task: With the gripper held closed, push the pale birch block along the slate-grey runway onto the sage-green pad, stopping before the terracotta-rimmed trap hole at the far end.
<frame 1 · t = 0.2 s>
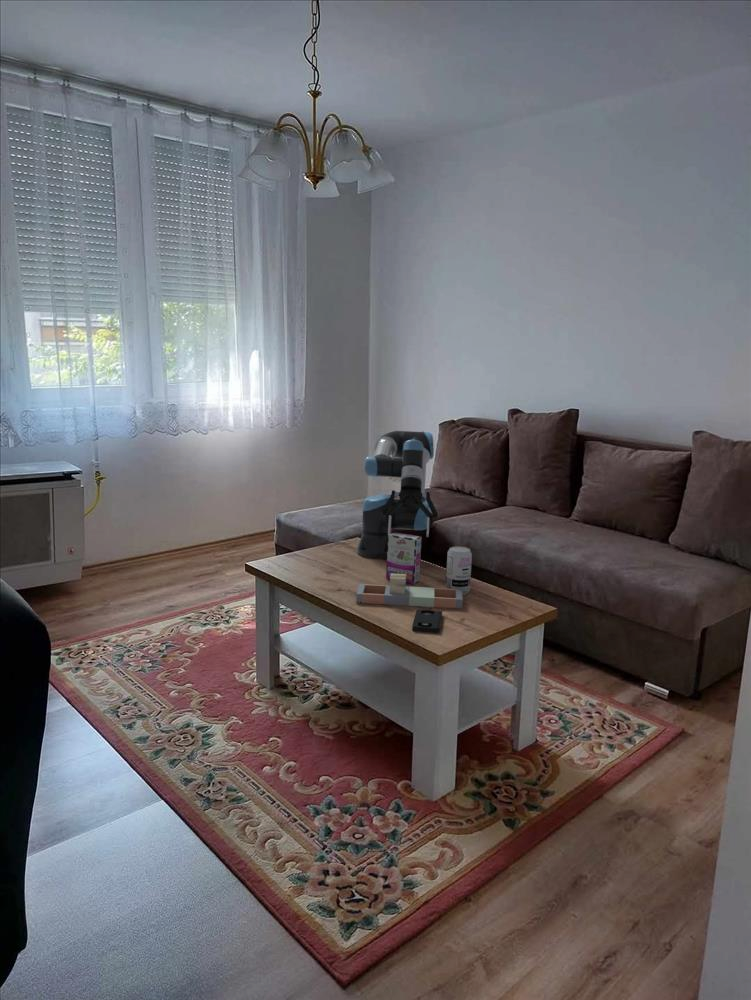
hand: (408, 535, 254), 16 cm above the table, tool tilted 35°, fingers open, 13 cm apart
birch block: (397, 590, 235), point 3 cm above the table, touching trap runway
trap runway: (409, 600, 235), on the table
candy bar box: (402, 580, 255), on the table
supplement can: (457, 592, 245), on the table
vhs tape: (427, 625, 216), on the table
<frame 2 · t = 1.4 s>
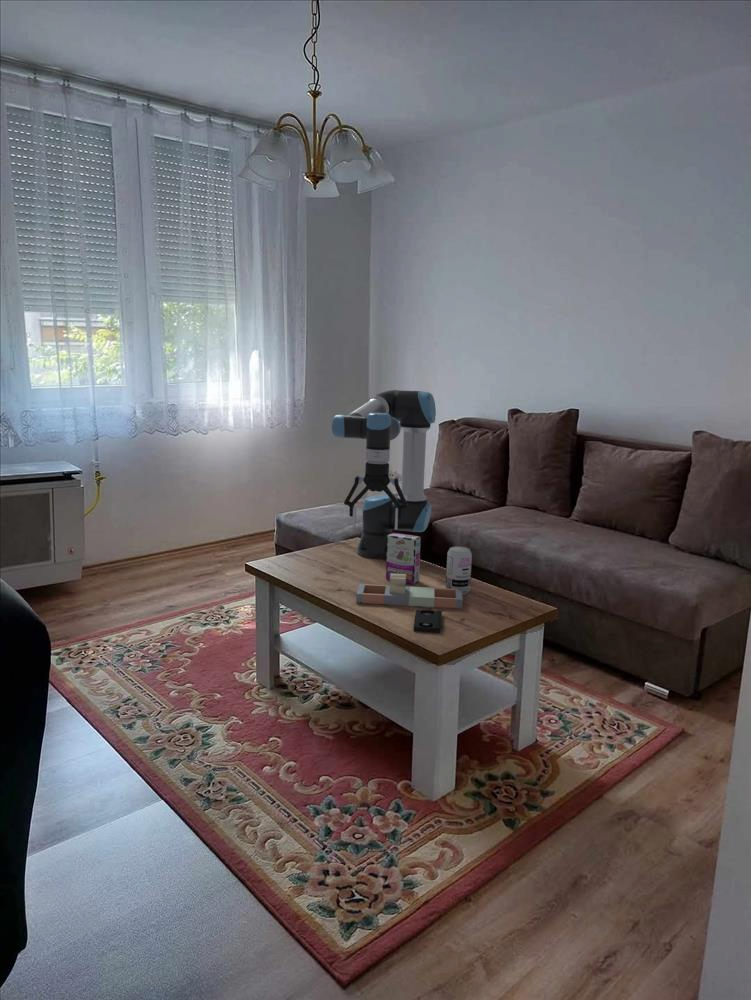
hand: (375, 527, 231), 24 cm above the table, tool pointing down, fingers open, 13 cm apart
nothing on the table moved.
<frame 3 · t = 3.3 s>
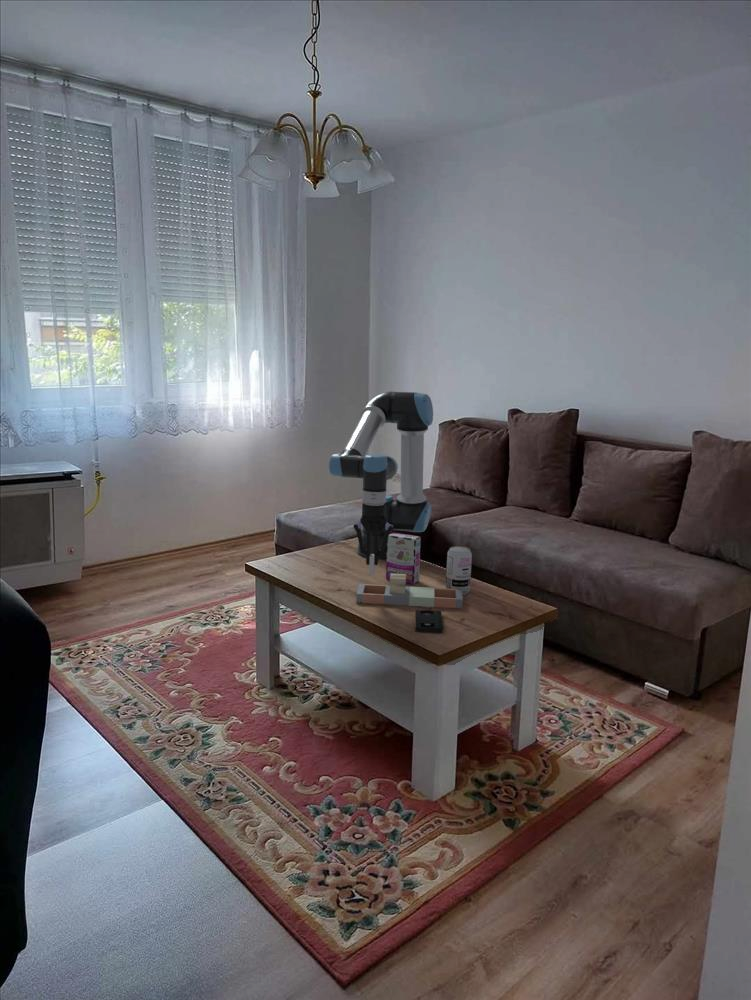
hand: (371, 574, 234), 8 cm above the table, tool pointing down, fingers closed
nothing on the table moved.
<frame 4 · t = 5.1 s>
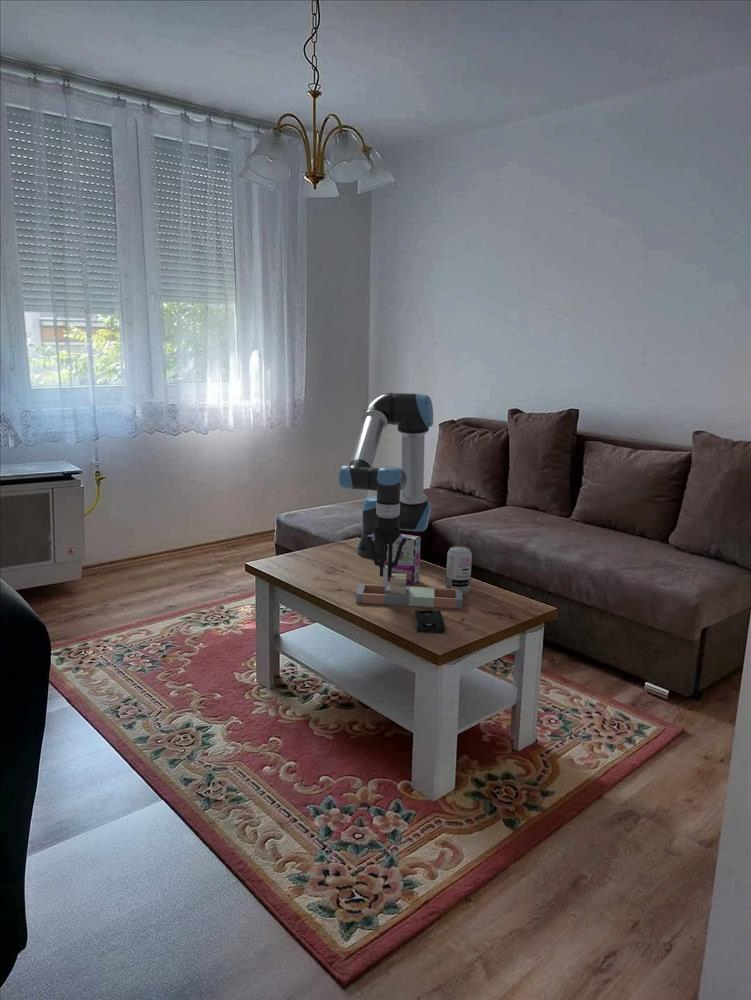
hand: (385, 585, 234), 4 cm above the table, tool pointing down, fingers closed
birch block: (397, 590, 235), point 3 cm above the table, touching gripper
everything else where it was.
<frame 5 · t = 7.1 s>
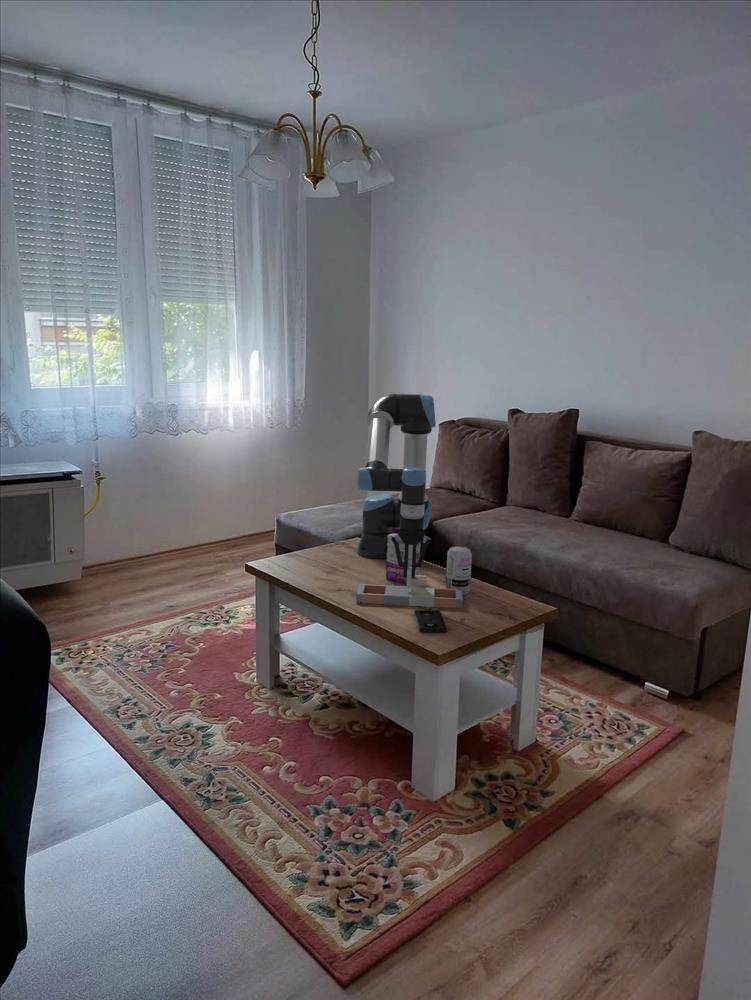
hand: (408, 586, 234), 5 cm above the table, tool pointing down, fingers closed
birch block: (418, 592, 234), point 3 cm above the table, touching gripper, trap runway
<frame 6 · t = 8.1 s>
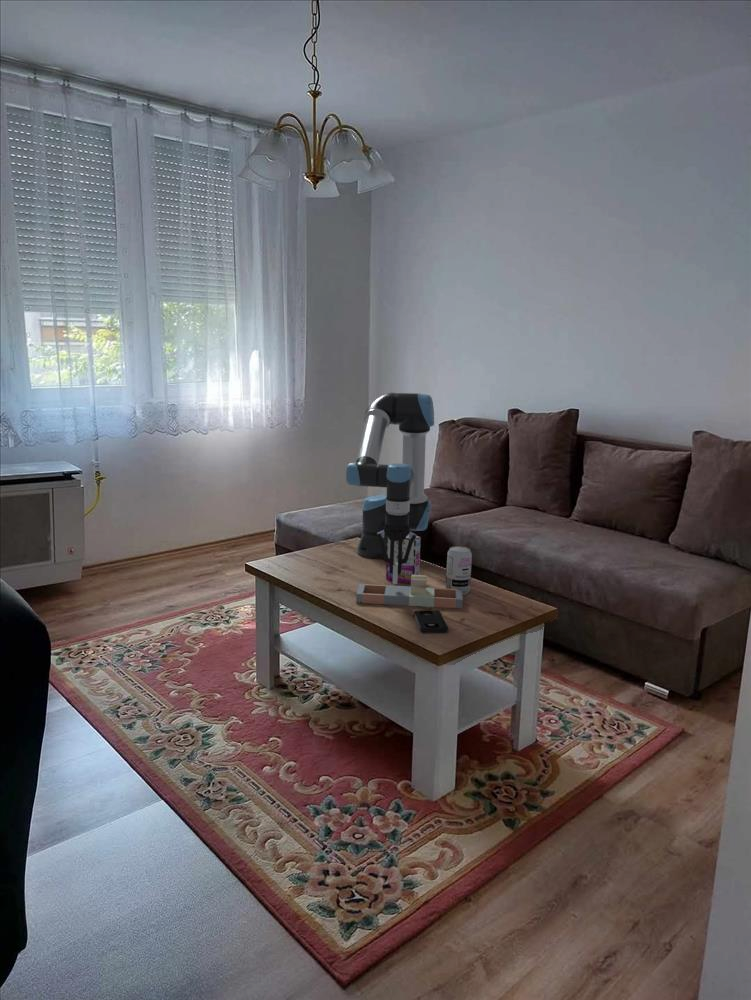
hand: (395, 582, 234), 6 cm above the table, tool pointing down, fingers closed
birch block: (418, 592, 234), point 3 cm above the table, touching trap runway
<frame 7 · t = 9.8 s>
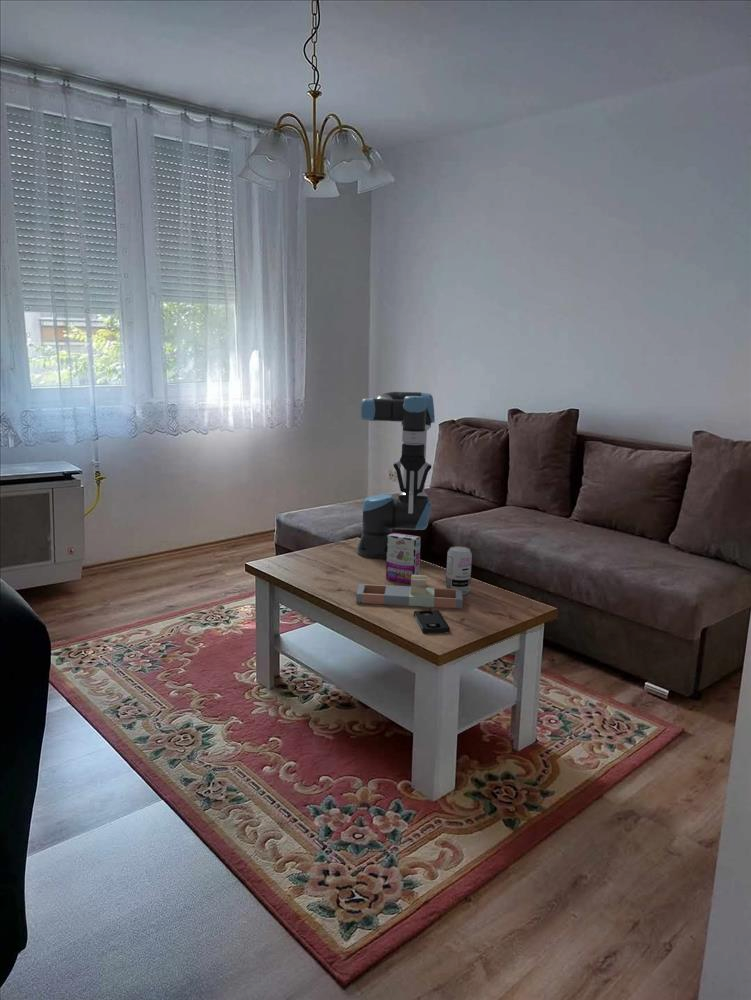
hand: (410, 512, 243), 26 cm above the table, tool pointing down, fingers closed
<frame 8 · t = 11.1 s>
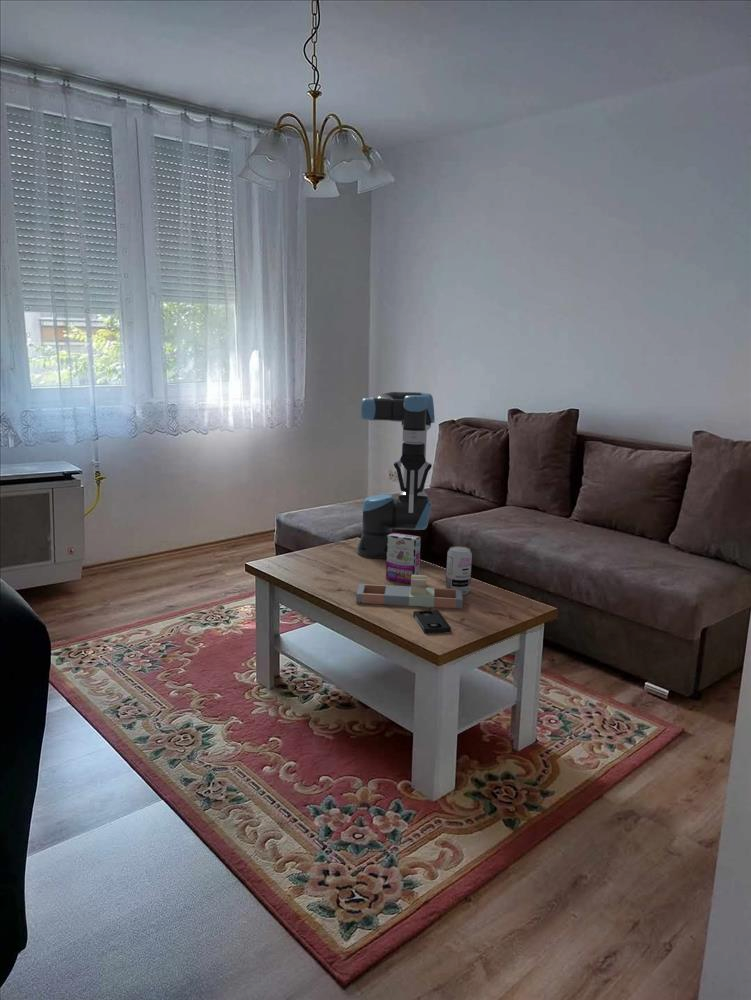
hand: (410, 511, 243), 26 cm above the table, tool pointing down, fingers closed
at the end: birch block inside the target area (1.2 cm from its centre), point 3.0 cm above the table; birch block tilted 0° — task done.
